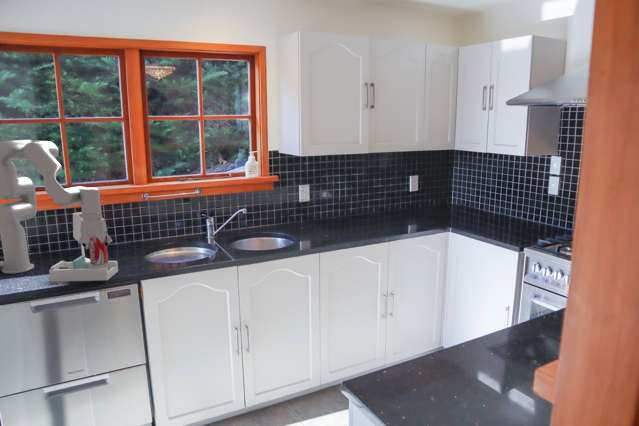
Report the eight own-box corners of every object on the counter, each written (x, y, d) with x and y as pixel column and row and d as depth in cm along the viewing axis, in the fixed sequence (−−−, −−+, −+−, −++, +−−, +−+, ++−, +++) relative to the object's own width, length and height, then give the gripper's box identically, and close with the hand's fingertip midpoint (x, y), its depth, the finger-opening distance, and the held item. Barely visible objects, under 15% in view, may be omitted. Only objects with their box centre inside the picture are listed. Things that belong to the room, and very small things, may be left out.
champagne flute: (84, 263, 223) (78, 214, 218) (73, 262, 225) (67, 214, 220) (94, 259, 229) (89, 212, 225) (83, 258, 231) (78, 211, 227)
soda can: (104, 260, 209) (100, 232, 206) (111, 263, 204) (108, 234, 202) (88, 264, 204) (84, 235, 201) (95, 267, 199) (92, 238, 197)
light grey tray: (50, 281, 199) (48, 268, 198) (64, 272, 211) (63, 259, 209) (107, 280, 200) (106, 266, 198) (118, 271, 211) (117, 258, 210)
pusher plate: (74, 276, 201) (72, 261, 199) (83, 270, 209) (81, 255, 207) (77, 276, 201) (75, 261, 199) (86, 270, 209) (84, 255, 207)
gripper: (68, 218, 196) (73, 260, 200) (108, 217, 197) (113, 259, 200) (76, 215, 203) (81, 255, 207) (115, 214, 204) (120, 254, 207)
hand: (97, 256), depth 203 cm, fingers closed on soda can, 4 cm apart
